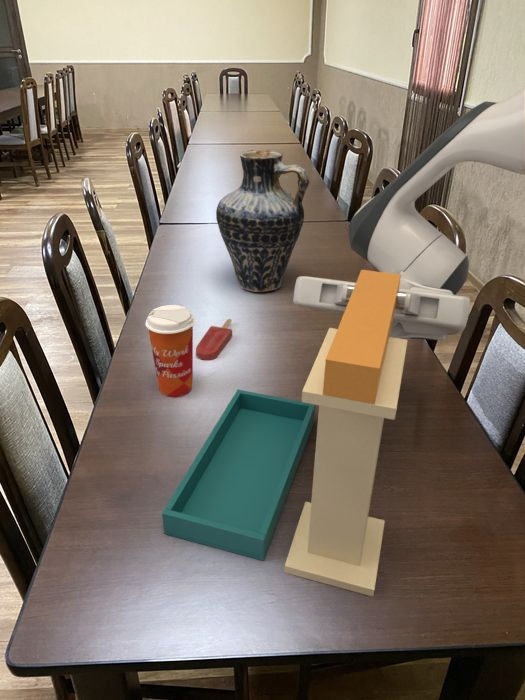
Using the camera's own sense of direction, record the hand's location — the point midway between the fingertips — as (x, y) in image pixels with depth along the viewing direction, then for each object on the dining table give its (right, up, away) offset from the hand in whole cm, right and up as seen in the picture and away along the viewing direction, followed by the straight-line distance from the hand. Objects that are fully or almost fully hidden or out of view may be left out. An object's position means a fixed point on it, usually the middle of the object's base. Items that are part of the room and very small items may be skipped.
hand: (375, 296), depth 57 cm
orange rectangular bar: (-2, -5, -4) cm, 7 cm away
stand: (-3, -29, +6) cm, 30 cm away
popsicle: (-21, -4, +48) cm, 53 cm away
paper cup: (-27, -12, +34) cm, 45 cm away
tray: (-14, -23, +17) cm, 32 cm away
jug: (-12, +10, +71) cm, 73 cm away
